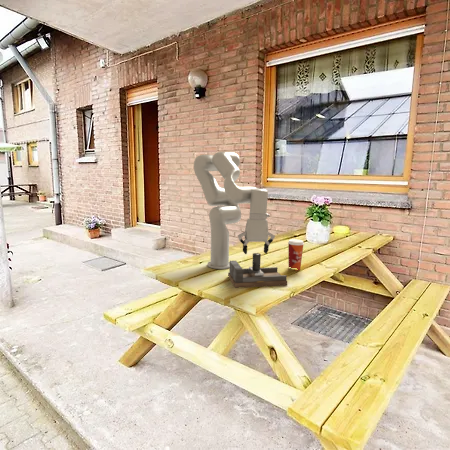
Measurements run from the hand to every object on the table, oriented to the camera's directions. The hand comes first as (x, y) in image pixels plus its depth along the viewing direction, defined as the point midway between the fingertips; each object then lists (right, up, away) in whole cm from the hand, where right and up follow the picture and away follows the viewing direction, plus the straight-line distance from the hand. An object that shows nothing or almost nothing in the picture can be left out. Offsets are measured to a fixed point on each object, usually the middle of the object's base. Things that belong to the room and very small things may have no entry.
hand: (255, 253), depth 153 cm
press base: (+1, -13, +2) cm, 13 cm away
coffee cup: (+22, -10, +21) cm, 32 cm away
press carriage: (0, -11, +1) cm, 11 cm away
